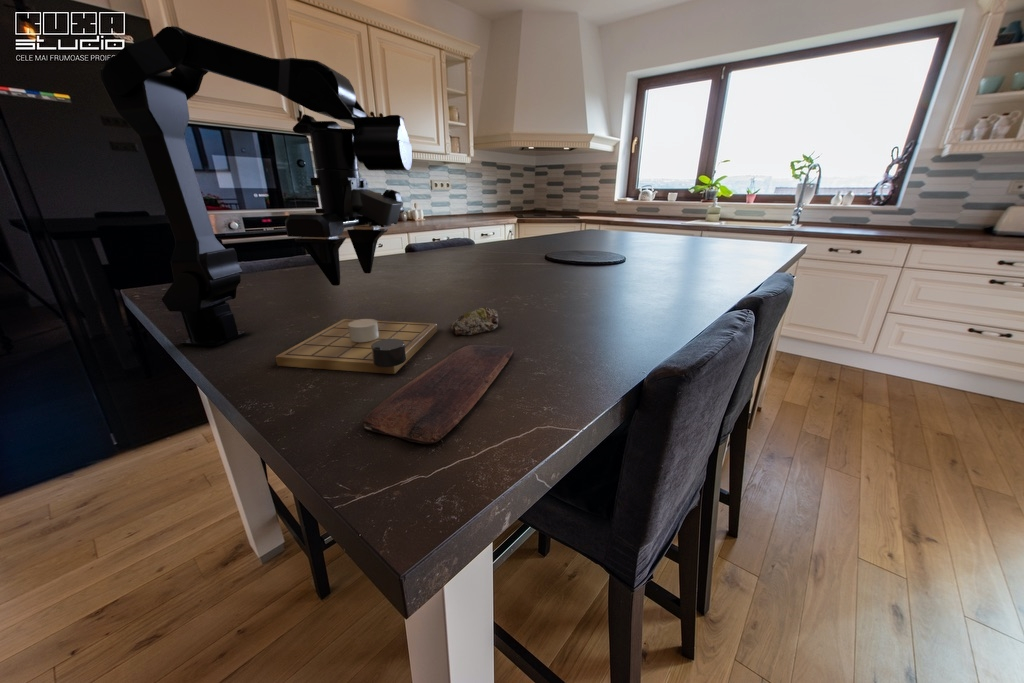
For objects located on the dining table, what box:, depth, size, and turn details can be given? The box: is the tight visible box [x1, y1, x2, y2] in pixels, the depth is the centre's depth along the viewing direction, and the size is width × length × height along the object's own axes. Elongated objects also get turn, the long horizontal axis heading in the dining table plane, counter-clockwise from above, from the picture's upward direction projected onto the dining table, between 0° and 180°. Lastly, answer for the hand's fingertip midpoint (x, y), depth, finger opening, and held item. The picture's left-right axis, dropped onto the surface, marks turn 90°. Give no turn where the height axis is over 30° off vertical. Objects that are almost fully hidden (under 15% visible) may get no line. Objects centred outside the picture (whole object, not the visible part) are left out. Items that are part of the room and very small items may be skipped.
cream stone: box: [348, 318, 379, 342], centre depth 63 cm, size 4×4×2 cm
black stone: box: [371, 339, 406, 367], centre depth 55 cm, size 4×4×2 cm
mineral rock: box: [450, 307, 500, 336], centre depth 73 cm, size 11×4×8 cm
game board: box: [275, 318, 438, 375], centre depth 64 cm, size 18×18×2 cm
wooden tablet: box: [362, 344, 514, 445], centre depth 51 cm, size 26×2×10 cm
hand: (352, 278), depth 62 cm, fingers open, 9 cm apart
